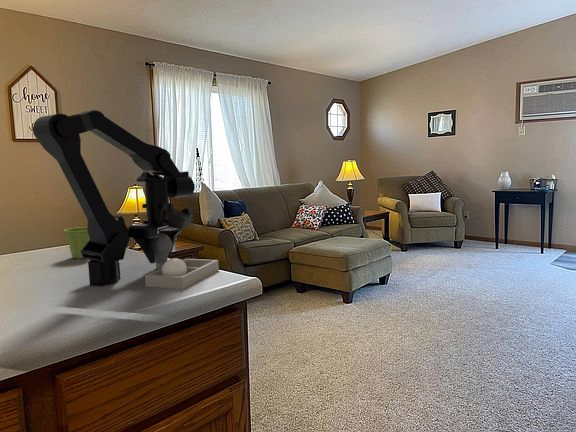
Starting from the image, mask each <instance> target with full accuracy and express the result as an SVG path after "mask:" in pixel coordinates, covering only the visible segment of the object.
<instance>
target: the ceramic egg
mask: <svg viewBox="0 0 576 432" xmlns="http://www.w3.org/2000/svg"><path fill="white" fill-rule="evenodd" d="M182 260H183V259H180V258H177V257H172V258H169V259H167V261H166V262H165V263H164V265H163V267H162V274H163V275H164V276H183V275H185V274H186V273H187V267H186V264H185V263H184V262H183V261H182Z"/></svg>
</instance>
